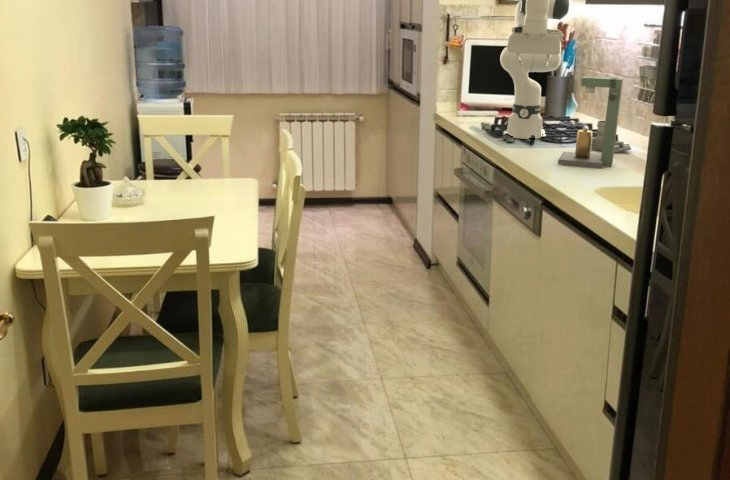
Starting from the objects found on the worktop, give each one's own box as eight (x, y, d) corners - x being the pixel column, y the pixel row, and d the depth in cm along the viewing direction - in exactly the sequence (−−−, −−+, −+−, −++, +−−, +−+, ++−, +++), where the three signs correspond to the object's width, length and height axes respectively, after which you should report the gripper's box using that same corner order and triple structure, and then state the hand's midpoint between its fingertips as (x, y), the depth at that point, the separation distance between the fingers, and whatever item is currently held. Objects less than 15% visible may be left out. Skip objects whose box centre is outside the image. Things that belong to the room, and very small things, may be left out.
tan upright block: (575, 155, 288) (578, 125, 284) (590, 156, 286) (593, 126, 282) (574, 158, 283) (577, 127, 279) (588, 159, 281) (592, 129, 277)
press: (562, 156, 294) (571, 73, 283) (613, 161, 288) (623, 76, 277) (555, 167, 277) (564, 80, 266) (609, 172, 270) (620, 83, 260)
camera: (594, 119, 307) (632, 121, 304) (590, 147, 311) (628, 150, 308) (595, 122, 299) (634, 125, 296) (591, 151, 303) (630, 154, 300)
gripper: (564, 29, 284) (561, 66, 289) (510, 27, 291) (508, 63, 296) (562, 30, 279) (558, 67, 283) (507, 28, 285) (505, 65, 290)
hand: (532, 65), depth 289 cm, fingers open, 8 cm apart
